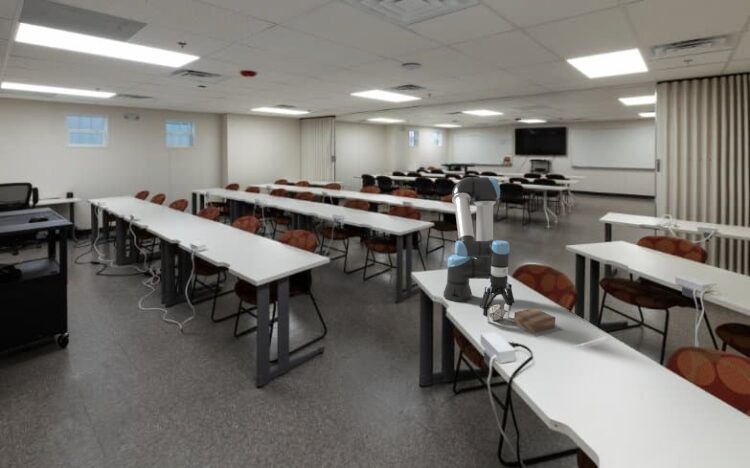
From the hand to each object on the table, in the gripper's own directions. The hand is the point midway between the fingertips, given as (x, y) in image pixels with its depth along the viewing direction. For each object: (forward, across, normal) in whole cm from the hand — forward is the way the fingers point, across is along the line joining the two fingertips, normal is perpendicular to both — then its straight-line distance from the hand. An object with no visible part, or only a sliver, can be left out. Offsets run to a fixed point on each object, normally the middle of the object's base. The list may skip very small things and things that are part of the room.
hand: (496, 320), depth 183 cm
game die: (0, 0, 0) cm, 0 cm away
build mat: (0, +11, -12) cm, 16 cm away
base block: (0, +11, -12) cm, 16 cm away
